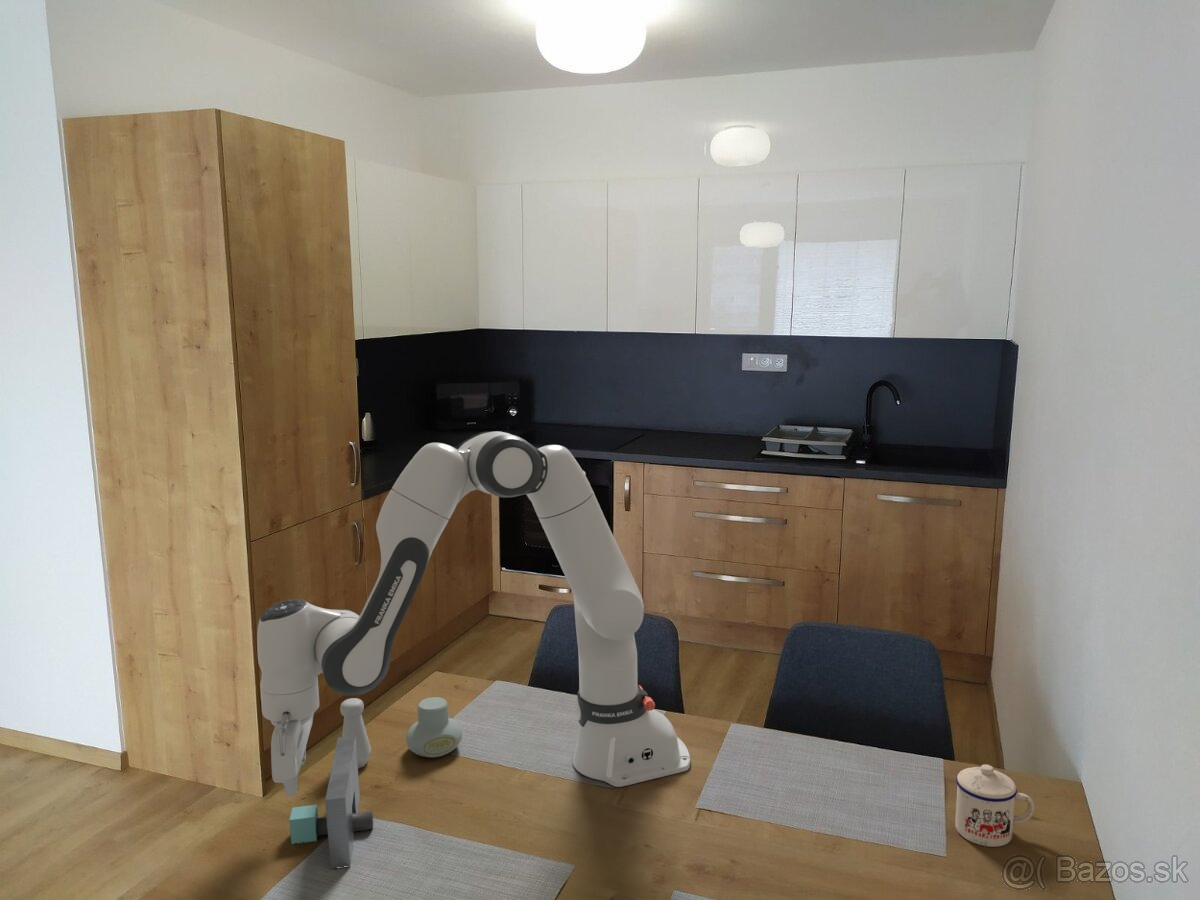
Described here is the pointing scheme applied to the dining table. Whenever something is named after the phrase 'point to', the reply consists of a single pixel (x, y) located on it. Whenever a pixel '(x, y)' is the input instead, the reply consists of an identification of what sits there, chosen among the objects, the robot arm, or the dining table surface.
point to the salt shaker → (356, 728)
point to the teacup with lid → (987, 806)
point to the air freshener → (433, 729)
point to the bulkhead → (342, 801)
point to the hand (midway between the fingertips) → (296, 777)
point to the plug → (320, 823)
